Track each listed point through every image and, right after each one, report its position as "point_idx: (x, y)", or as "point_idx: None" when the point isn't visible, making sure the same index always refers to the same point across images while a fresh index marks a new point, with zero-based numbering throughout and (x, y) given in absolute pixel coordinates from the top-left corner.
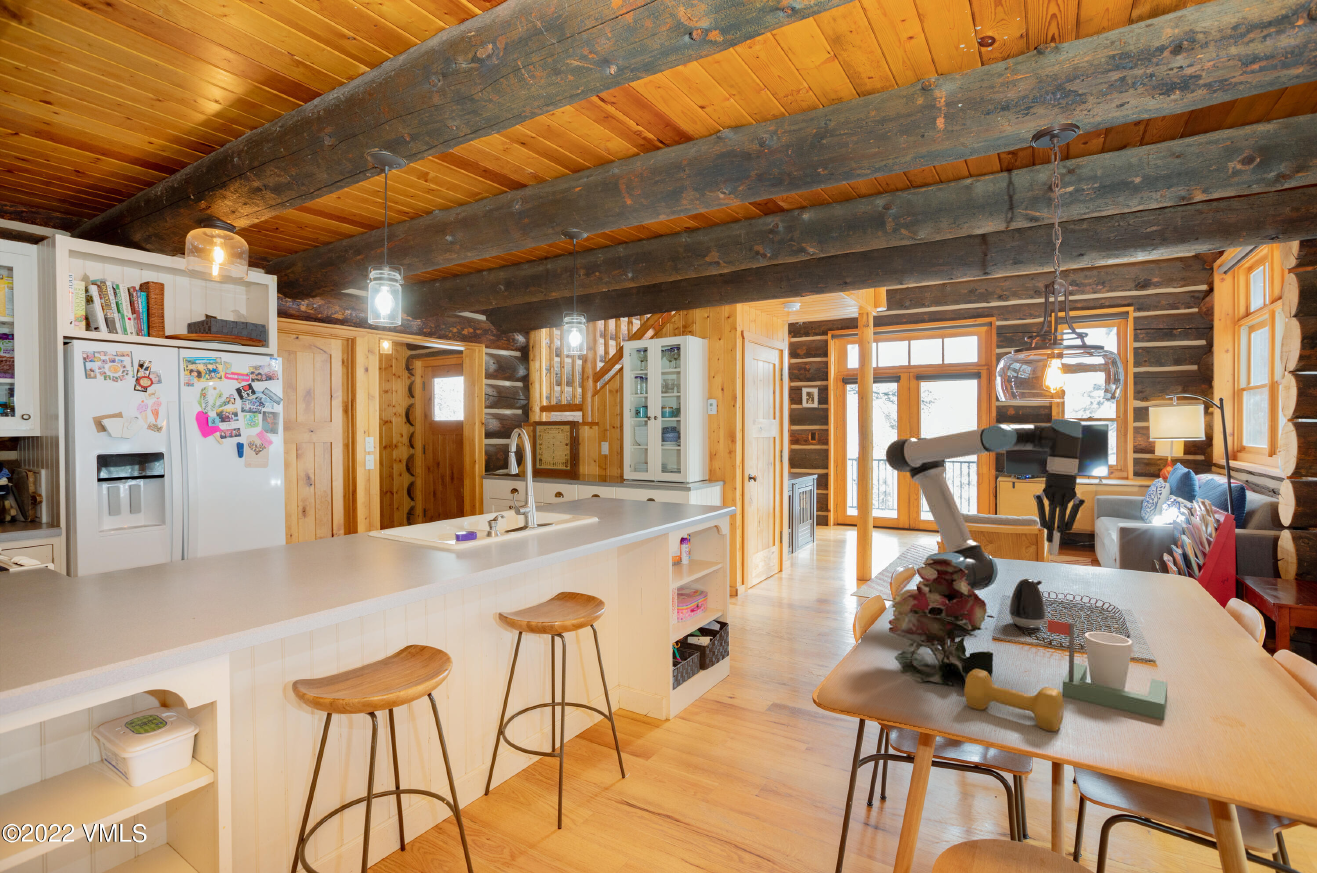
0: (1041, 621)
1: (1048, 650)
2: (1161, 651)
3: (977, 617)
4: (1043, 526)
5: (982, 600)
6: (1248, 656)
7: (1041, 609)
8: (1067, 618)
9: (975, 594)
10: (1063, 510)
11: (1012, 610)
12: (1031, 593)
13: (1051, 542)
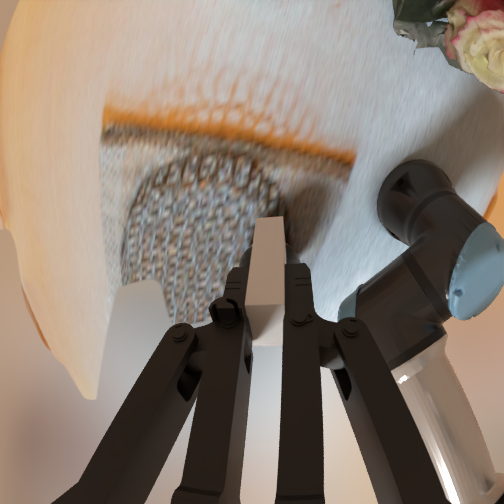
0: (249, 247)
1: (266, 123)
2: (87, 191)
3: (465, 3)
4: (367, 328)
5: (478, 15)
6: (16, 214)
7: (250, 260)
8: (195, 305)
9: (501, 11)
10: (211, 478)
11: (299, 262)
12: None
13: (289, 264)
